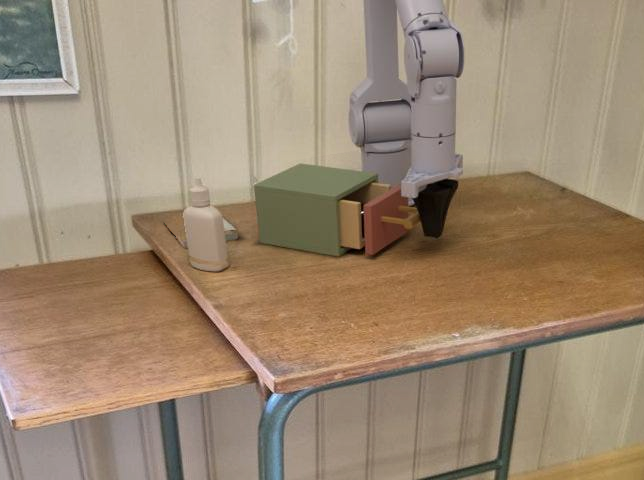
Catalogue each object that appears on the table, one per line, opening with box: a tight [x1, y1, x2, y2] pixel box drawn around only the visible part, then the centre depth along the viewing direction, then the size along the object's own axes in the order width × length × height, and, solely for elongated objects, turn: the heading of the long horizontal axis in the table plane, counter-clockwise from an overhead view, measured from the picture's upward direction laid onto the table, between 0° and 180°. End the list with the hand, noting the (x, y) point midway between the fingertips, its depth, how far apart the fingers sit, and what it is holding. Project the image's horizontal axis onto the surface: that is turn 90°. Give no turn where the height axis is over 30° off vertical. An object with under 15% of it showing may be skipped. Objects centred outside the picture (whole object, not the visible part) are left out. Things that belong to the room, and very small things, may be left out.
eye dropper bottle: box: [183, 176, 229, 273], centre depth 121 cm, size 4×6×12 cm
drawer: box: [338, 182, 421, 256], centre depth 128 cm, size 17×11×7 cm, turn 61°
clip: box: [361, 203, 365, 238], centre depth 129 cm, size 5×4×3 cm
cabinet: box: [253, 162, 378, 258], centre depth 131 cm, size 13×12×8 cm
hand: (433, 235), depth 124 cm, fingers closed, pressing on drawer
